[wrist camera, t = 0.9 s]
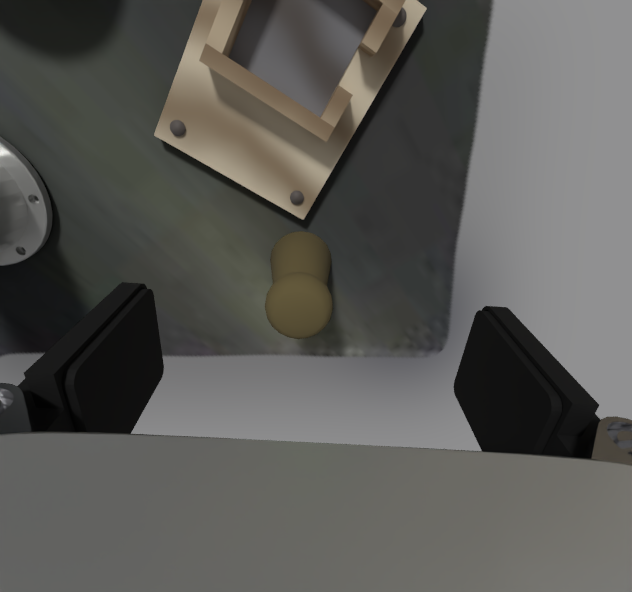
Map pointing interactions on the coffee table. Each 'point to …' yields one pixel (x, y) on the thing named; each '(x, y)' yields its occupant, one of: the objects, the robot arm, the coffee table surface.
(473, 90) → the coffee table surface
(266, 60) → the pocket board
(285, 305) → the olive tall rounded piece
